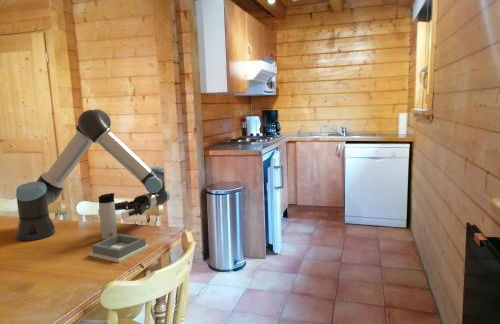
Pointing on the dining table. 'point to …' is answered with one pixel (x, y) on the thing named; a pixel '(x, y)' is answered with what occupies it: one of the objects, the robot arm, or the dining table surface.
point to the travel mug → (107, 216)
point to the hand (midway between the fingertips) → (110, 214)
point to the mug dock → (118, 247)
